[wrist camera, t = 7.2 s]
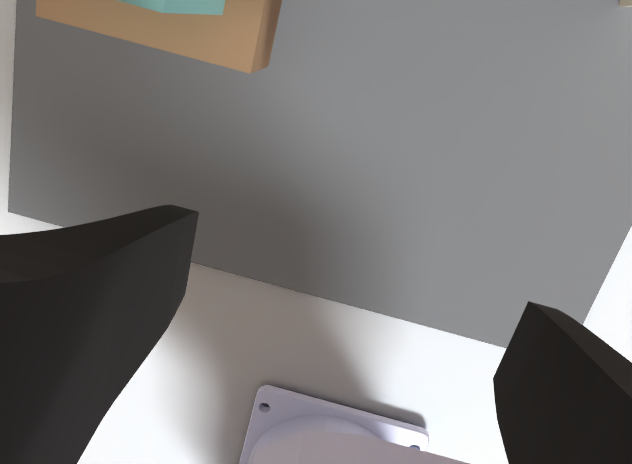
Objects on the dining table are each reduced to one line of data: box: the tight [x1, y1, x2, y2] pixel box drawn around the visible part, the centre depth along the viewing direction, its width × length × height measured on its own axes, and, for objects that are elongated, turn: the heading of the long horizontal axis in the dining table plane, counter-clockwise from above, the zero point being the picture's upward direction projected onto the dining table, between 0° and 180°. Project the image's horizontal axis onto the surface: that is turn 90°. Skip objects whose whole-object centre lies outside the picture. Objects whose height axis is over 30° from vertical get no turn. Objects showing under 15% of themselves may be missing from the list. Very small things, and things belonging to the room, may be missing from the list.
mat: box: [8, 0, 632, 348], centre depth 20 cm, size 20×24×1 cm
